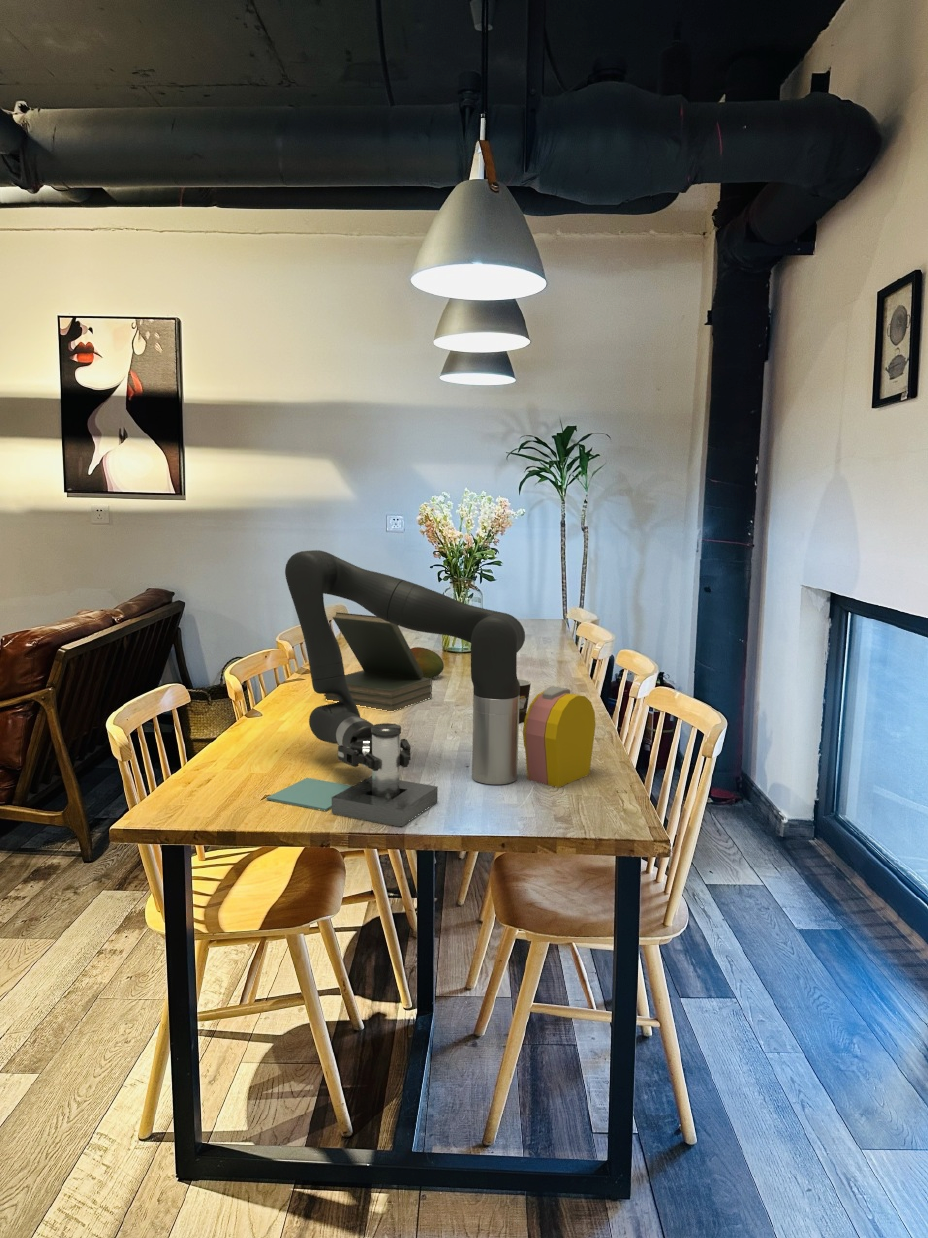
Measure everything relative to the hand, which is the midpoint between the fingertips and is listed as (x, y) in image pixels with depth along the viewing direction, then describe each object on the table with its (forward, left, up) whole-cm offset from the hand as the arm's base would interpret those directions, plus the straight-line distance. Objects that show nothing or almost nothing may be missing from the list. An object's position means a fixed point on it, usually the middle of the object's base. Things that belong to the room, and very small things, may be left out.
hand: (391, 763), depth 152 cm
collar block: (-2, -2, -9) cm, 9 cm away
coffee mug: (-72, -6, -9) cm, 73 cm away
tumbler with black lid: (-2, -2, -9) cm, 9 cm away
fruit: (-109, -49, -9) cm, 120 cm away
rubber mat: (-2, -17, -9) cm, 19 cm away
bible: (-76, -46, -10) cm, 89 cm away
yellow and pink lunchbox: (-34, +20, -9) cm, 40 cm away
